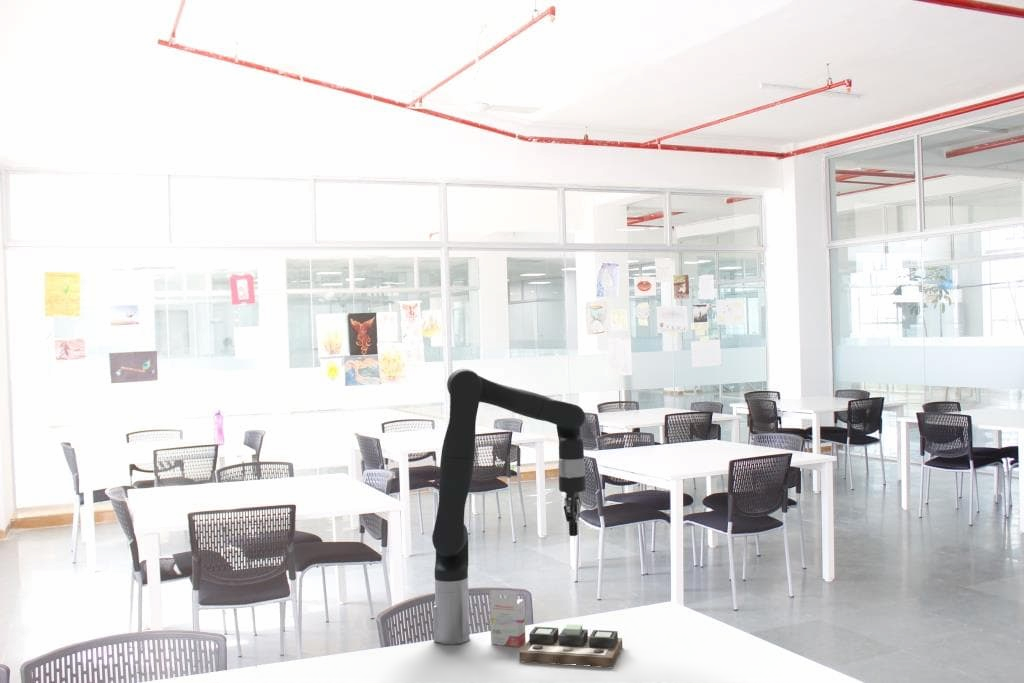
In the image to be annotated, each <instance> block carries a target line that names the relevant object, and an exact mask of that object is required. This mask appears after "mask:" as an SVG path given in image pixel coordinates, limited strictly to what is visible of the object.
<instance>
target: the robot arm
mask: <svg viewBox="0 0 1024 683" xmlns="http://www.w3.org/2000/svg"><path fill="white" fill-rule="evenodd" d="M446 381H447V382H446V388H447V391H448V393H449V403H450V404H449V420H448V424H447V427H446V431H445V434H444V439H443V442H442V448H441V455H440V462H439V463H440V464H439V479H438V480H439V483H438V505H437V506H438V507H437V512H436V518H435V522H434V528H433V532H432V536H431V541H432V545H433V547H434V550H435V562H434V563H435V565H434V594H435V595H434V596H435V599H434V602H435V605H434V606H433V607H432V620H433V621H432V622H433V623H432V624H433V642H435V643H439V644H443V645H460V644H463V643H467V642H468V641H469V640H470V631H471V630H470V607H469V604H470V603H469V600H470V599H469V578H468V577H469V574H468V573H469V533H468V529H467V527H466V524H465V511H466V510H465V509H466V503H467V498H468V496H469V491H470V488H471V484H472V478H473V472H474V466H475V464H474V463H475V454H476V452H475V451H476V425H477V424H476V421H477V415H478V411H479V410H478V409H479V406H480V405H479V404H480V403H483V404H488V405H492V406H495V407H498V408H501V409H504V410H507V411H509V412H512V413H514V414H517V415H520V416H523V417H527V418H530V419H533V420H538V421H543V422H548V423H550V424H553V425H556V432H557V437H558V467H557V468H558V490H559V492H562V493H565V498H564V506H563V510H564V515H565V520H566V522H567V523H568V530H569V532H568V534H569V536H570V537H576V536H577V535H578V534H579V530H578V529H579V527H578V526H579V525H578V524H579V523H578V522H579V519H580V517H581V508H582V499H581V498H582V497H581V496H580V493H582V492H585V491H586V490H587V489H586V465H585V464H586V463H585V459H584V457H585V456H584V455H585V454H584V451H585V450H584V449H585V448H584V441H583V439H582V438H581V428H580V427H581V426H583V424H585V420H586V415H585V414H586V413H585V411H584V410H583V408H582V407H581V406H579V405H577V404H573V403H571V402H570V403H569V402H566V401H561V400H558V399H553V398H551V397H548V396H547V395H543V394H539V393H536V392H533V391H529V390H526V389H521V388H518V387H517V388H516V387H512V386H508V385H504V384H500V383H497V382H494V381H491V380H489V379H487V378H484V377H483V376H480V375H478V373H476V372H475V371H474V370H471V369H468V368H461V369H456V370H455V371H453V372H452V373H451V374H450V375H449V376H448V379H447V380H446Z"/></svg>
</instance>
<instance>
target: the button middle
mask: <svg viewBox="0 0 1024 683" xmlns="http://www.w3.org/2000/svg"><path fill="white" fill-rule="evenodd" d="M563 629H564V635H575V636H581V634H582V629H583V624H571V623H570V624H569V623H568V624H566V626H565V627H564V628H563Z"/></svg>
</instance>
